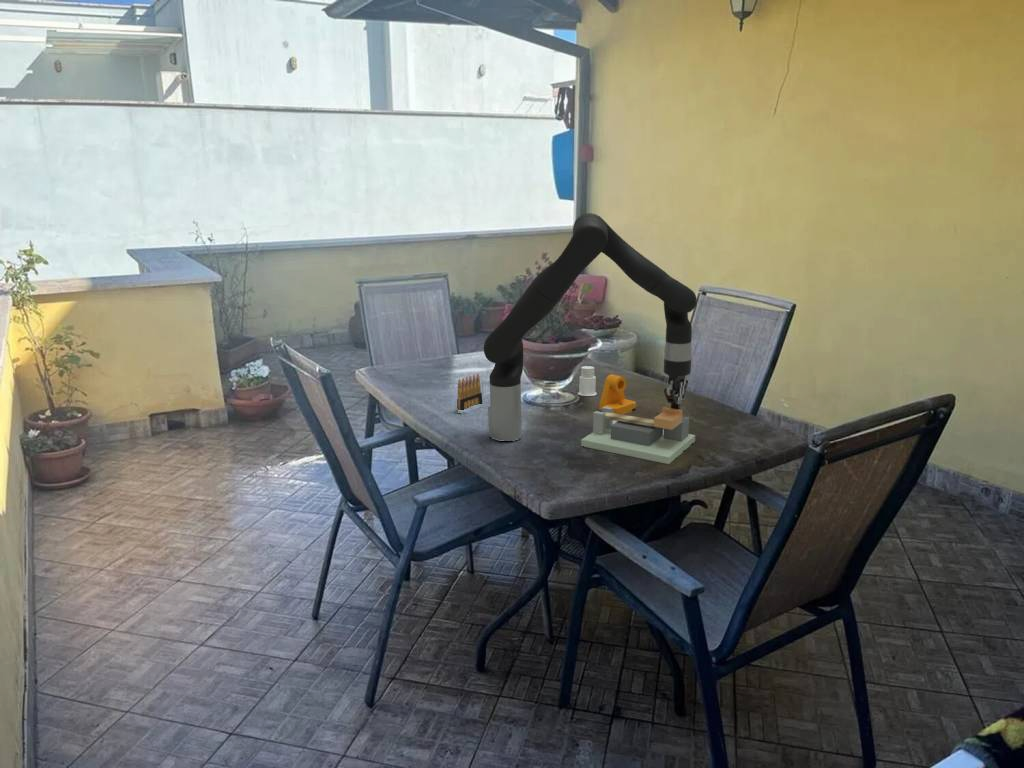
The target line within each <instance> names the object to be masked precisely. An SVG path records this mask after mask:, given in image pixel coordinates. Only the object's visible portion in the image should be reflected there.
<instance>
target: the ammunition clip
mask: <svg viewBox="0 0 1024 768" xmlns="http://www.w3.org/2000/svg"><path fill="white" fill-rule="evenodd" d="M480 381H481V377H480V375H479V373H476V375H475V374H473V376H471V375H470V376H469V378H468V376H466V377H465V378H464V377H462V380H461V379H460V378H459V379H458V383H457V398H456V410H457V409H458V410H464V409H467V408H469V407H471V406H474V405H478V404H483V393H482V392H481V391H482V390H481V389H482V388H481V387H482V386H481V382H480Z"/></svg>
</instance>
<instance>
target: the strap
mask: <svg viewBox="0 0 1024 768" xmlns="http://www.w3.org/2000/svg"><path fill="white" fill-rule="evenodd" d="M604 413H605V419H610V420H614V421H622V422H628V423H634V424H640V425H646V426H652V427H655V426H654V419H651V418H645V417H638V416H634V415H628V414H627V415H626V414H623V415H621V414H615V413H609V412H607V411H604ZM658 428H660V427H658ZM663 429H666V428H663ZM670 430H671V429H670Z"/></svg>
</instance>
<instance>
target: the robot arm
mask: <svg viewBox="0 0 1024 768" xmlns="http://www.w3.org/2000/svg"><path fill="white" fill-rule="evenodd" d="M601 253H602V254H604V255H605V256H606V257H608V258H609V259H610V260H611V261H612V262H614V263H615V265H617V267H618V268H619V269H620V270H621V271H622V272H623V273H624V274H625V275H626V277H628V278H629V279H630V280H631V281H632V282H634V283H635V284H636V285H638V286H639V287H640V288H641V289H643V290H644V291H646V292H647V293H649V294H651V295H652V296H654V297H656V298H658V299H660V300H661V301H662V302H663V311H664V319H665V324H666V329H665V344H664V348H663V349H664V350H663V351H664V353H663V373H664V374H665V375H667V376H668V380H667V388H664V389H663V393H664V395H665V396H664V397H665V399H666V401H667V403H669V404H670V408H673V409H679V410H681V403H682V402H683V400H684V398H685V396H686V392H687V391H686V390H687V388H688V384H689V379H686V376H688V375H689V376H690V374H691V371H692V354H693V353H692V351H693V348H692V333H693V330H692V329H693V326H692V322H690V320H689V313H690V312H692V311H694V309H695V308H696V306H697V303H698V299H697V295H696V293H695V291H694V290H692V289H691V288H690V287H688V286H687V285H685V284H684V283H682V282H681V281H679V280H677V279H675V278H674V277H672V276H670V275H669V274H668V273H667V272H666V271H665V270H663V269H662V268H661V267H659V266H658V265H657V264H655V263H654V262H652V261H651V260H649V259H648V258H647V257H645V256H644V255H643V254H641V253H640V252H639V251H637V250H636V249H635V248H634V247H633V246H631V245H630V244H629V243H628V242H626V241H625V239H623V238H622V237H621V236H620V235H619V234H618V233H616V231H615V230H614V229H613V228H612V227H611V226H610V225H609V224H608V223H607V222H606V221H605V219H603V218H602V217H601V216H599V215H598V214H596V213H592V212H588V213H587V212H586V213H583V214H581V215H580V216H578V217H577V218H576V220H575V221H574V223H573V228H572V234H571V239H570V240H569V242H568V244H567V245H566V247H565V248H564V249H563V251H562V253H561V254H560V256H559V257H558V258H557V259H556V260H554V262H552V263H551V264H550V265H548V266H547V267H545V268H544V269H543V270H542V271H540V272H539V273H538V274H537V275H536V276H535V278H533V280H532V282H531V283H530V284H529V285H528V287H527V288H526V289H525V291H524V292H523V293H522V295H521V296H520V297H519V298H518V300H517V301H516V303H515V305H514V306H513V307H512V308H511V310H510V311H509V314H507V316H506V317H505V318H504V320H502V321H501V322H500V323H499V325H498V326H496V327H495V329H493V331H492V332H491V333H490V334H489V335H487V337H486V339H485V340H484V344H483V355H484V356H485V358H486V359H487V360H488V361H489V362H490V363H493V364H494V366H493V369H492V370H491V372H490V374H489V396H490V397H489V401H490V402H489V403H490V406H488V407H487V417H488V418H487V421H488V422H487V424H488V426H487V427H488V436H489V435H490V436H492V437H493V438H495V439H498V440H504V441H510V440H516V439H519V438H521V439H522V437H523V436H522V435H523V434H522V432H523V430H522V425H523V424H522V389H521V387H522V386H521V385H522V384H521V383H522V382H521V379H522V378H521V377H522V374H523V370H524V341H523V338H524V336H526V334H527V333H528V332H529V331H530V330H531V329H533V328H534V327H535V326H536V325H538V324H539V323H540V322H541V321H542V320H543V319H545V318H546V317H547V316H548V315H549V314H550V313H551V312H552V311H553V310H554V308H555V307H556V306H557V305H558V303H559V302H560V301H561V300H562V299H563V297H564V296H565V295H566V293H567V292H568V291H569V290H570V288H571V286H573V284H574V282H575V281H576V280H577V278H578V277H579V276H580V275H581V273H582V272H583V271H584V270H585V269H586V268H588V266H589V265H590V264H591V263H592V262H593V261H594V260H595V259H596V258H597V257H598V256H599V255H600V254H601ZM521 436H522V437H521ZM519 440H520V439H519Z"/></svg>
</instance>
